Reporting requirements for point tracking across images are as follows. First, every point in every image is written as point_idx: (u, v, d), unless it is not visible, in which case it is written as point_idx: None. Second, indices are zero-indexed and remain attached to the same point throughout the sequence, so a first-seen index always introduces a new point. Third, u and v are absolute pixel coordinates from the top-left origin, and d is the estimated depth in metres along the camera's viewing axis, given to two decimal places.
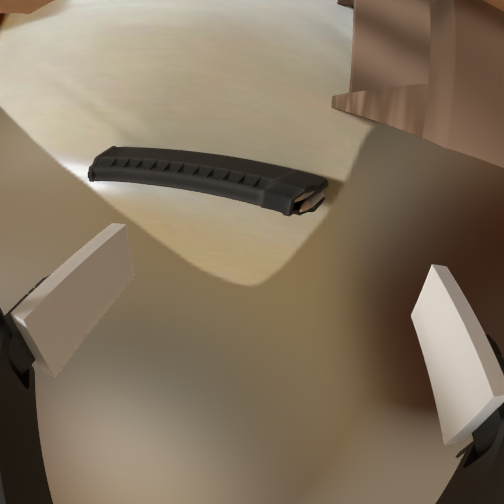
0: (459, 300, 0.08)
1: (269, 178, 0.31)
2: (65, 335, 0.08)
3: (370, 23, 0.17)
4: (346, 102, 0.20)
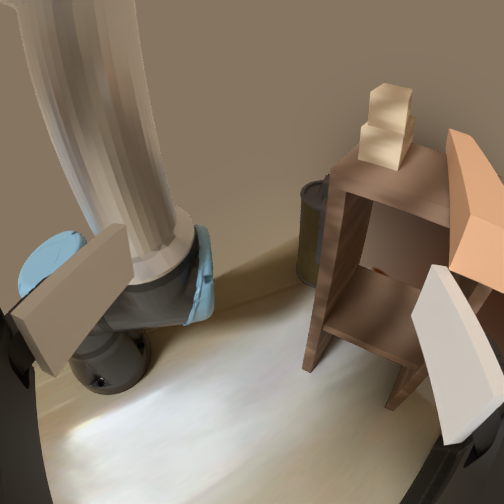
0: (459, 300, 0.08)
1: (447, 453, 0.23)
2: (65, 335, 0.08)
3: (372, 336, 0.32)
4: None
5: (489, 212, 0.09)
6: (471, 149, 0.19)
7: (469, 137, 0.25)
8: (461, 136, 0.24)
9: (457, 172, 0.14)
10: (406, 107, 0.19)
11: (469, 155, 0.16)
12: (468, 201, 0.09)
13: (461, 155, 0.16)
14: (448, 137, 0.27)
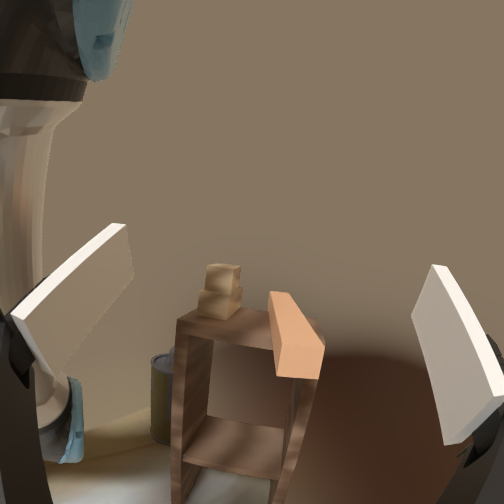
0: (459, 300, 0.08)
1: None
2: (65, 335, 0.08)
3: (228, 460, 0.32)
4: (288, 470, 0.29)
5: (295, 339, 0.21)
6: (286, 304, 0.36)
7: (286, 294, 0.45)
8: (279, 295, 0.43)
9: (275, 323, 0.28)
10: (232, 274, 0.35)
11: (284, 309, 0.32)
12: (281, 337, 0.21)
13: (278, 311, 0.31)
14: (269, 298, 0.46)
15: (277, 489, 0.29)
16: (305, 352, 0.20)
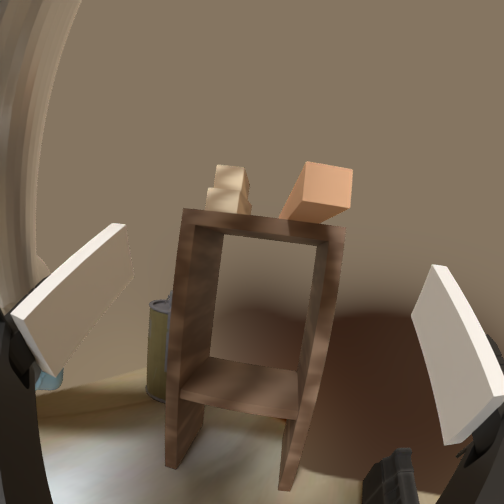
0: (459, 300, 0.08)
1: (383, 488, 0.20)
2: (65, 335, 0.08)
3: (235, 396, 0.30)
4: (308, 402, 0.27)
5: None
6: None
7: None
8: None
9: (292, 195, 0.26)
10: (242, 172, 0.33)
11: None
12: (303, 168, 0.19)
13: None
14: None
15: (295, 433, 0.27)
16: (332, 174, 0.17)
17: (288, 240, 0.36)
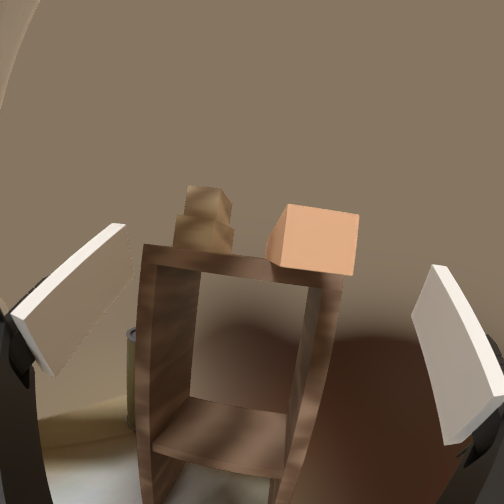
0: (459, 300, 0.08)
1: None
2: (65, 335, 0.08)
3: (213, 451, 0.24)
4: (294, 464, 0.21)
5: None
6: None
7: None
8: None
9: None
10: (218, 195, 0.27)
11: None
12: (285, 209, 0.13)
13: None
14: (266, 246, 0.38)
15: (279, 492, 0.21)
16: (328, 223, 0.12)
17: None
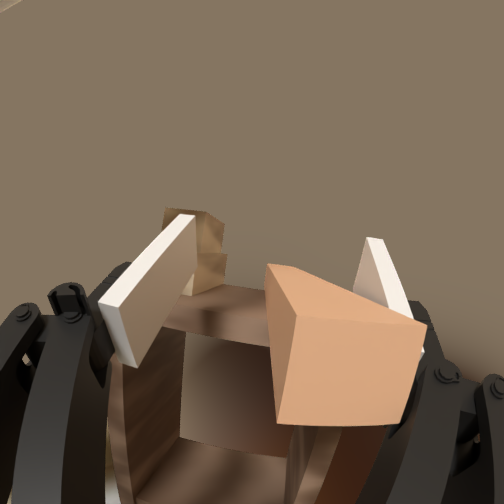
0: (385, 267, 0.10)
1: None
2: (148, 323, 0.10)
3: None
4: None
5: (333, 309, 0.07)
6: None
7: (291, 267, 0.31)
8: (281, 266, 0.29)
9: (274, 290, 0.14)
10: (203, 220, 0.21)
11: (290, 274, 0.18)
12: (290, 303, 0.07)
13: (279, 274, 0.17)
14: (266, 272, 0.32)
15: None
16: (372, 346, 0.06)
17: None
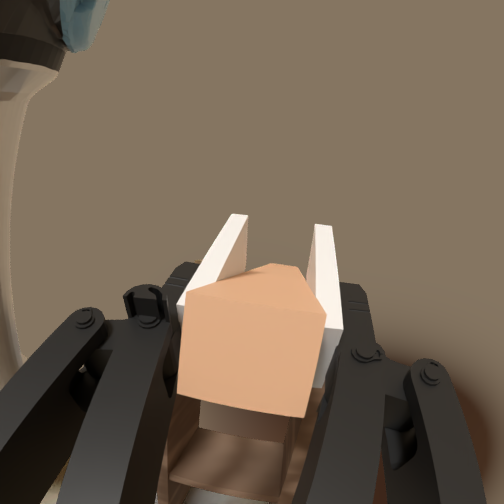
0: (325, 250, 0.11)
1: None
2: None
3: (221, 480, 0.27)
4: (287, 493, 0.24)
5: (240, 293, 0.07)
6: None
7: None
8: None
9: None
10: None
11: (273, 271, 0.19)
12: (205, 286, 0.08)
13: (258, 270, 0.18)
14: None
15: None
16: (261, 329, 0.06)
17: None
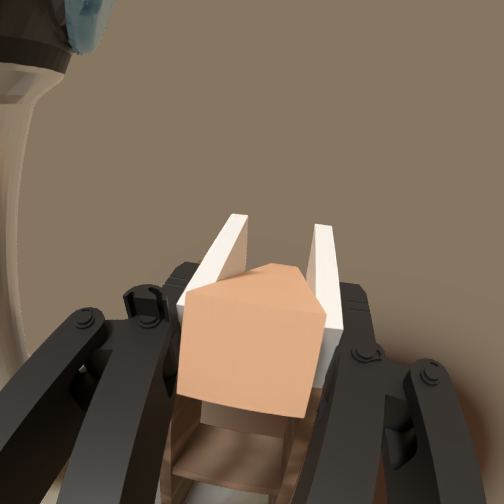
0: (325, 250, 0.11)
1: None
2: None
3: (222, 473, 0.28)
4: (288, 485, 0.25)
5: (240, 293, 0.07)
6: None
7: None
8: None
9: None
10: None
11: (273, 271, 0.19)
12: (205, 286, 0.08)
13: (258, 270, 0.18)
14: None
15: None
16: (261, 330, 0.06)
17: None
